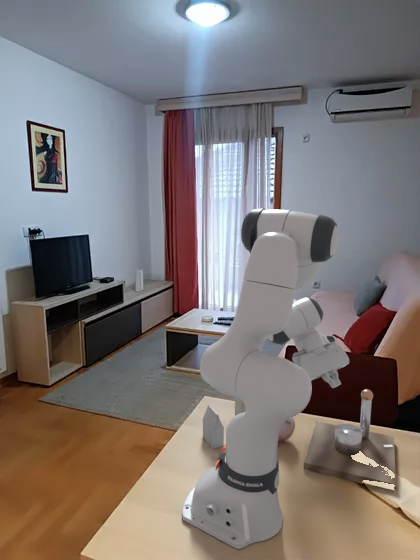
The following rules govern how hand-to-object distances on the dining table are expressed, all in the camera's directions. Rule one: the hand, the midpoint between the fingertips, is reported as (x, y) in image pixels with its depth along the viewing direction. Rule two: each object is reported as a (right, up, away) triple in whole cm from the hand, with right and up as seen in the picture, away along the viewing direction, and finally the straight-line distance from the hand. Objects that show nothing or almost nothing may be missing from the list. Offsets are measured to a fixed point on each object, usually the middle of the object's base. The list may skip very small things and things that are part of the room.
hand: (337, 386), depth 123 cm
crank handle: (+2, -14, -9) cm, 16 cm away
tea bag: (-37, -16, -3) cm, 41 cm away
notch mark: (+11, -14, -10) cm, 21 cm away
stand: (+1, -16, -10) cm, 19 cm away
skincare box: (-27, -13, +10) cm, 31 cm away
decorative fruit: (-18, -15, -3) cm, 24 cm away
